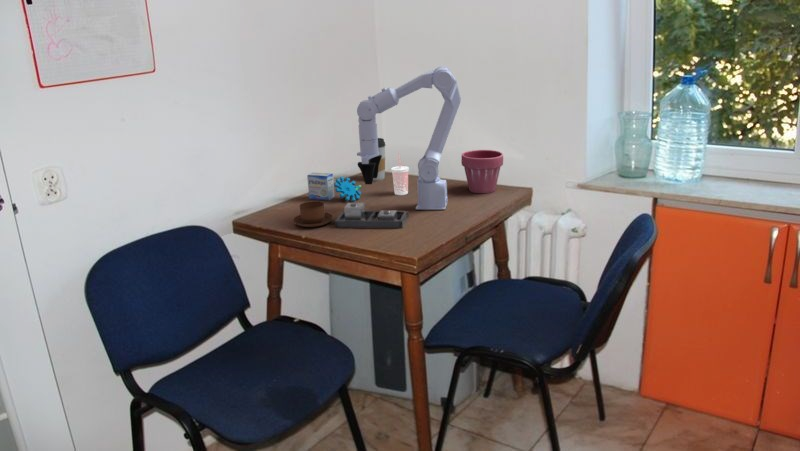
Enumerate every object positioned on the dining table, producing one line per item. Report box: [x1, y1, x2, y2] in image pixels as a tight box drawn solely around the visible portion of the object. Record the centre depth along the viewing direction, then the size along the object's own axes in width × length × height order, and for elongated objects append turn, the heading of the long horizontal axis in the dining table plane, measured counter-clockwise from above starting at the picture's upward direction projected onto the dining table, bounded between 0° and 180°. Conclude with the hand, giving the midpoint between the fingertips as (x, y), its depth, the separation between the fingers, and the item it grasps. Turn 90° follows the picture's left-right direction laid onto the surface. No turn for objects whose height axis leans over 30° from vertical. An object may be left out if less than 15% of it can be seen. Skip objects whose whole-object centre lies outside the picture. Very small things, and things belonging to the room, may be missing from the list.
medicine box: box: [307, 172, 335, 201], centre depth 233 cm, size 8×4×9 cm, turn 68°
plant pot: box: [461, 149, 504, 194], centre depth 232 cm, size 14×14×13 cm
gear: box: [333, 176, 362, 202], centre depth 232 cm, size 11×6×10 cm
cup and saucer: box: [293, 200, 334, 228], centre depth 207 cm, size 12×12×6 cm
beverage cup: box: [390, 153, 410, 196], centre depth 233 cm, size 6×6×14 cm
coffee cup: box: [373, 137, 386, 182], centre depth 254 cm, size 8×8×15 cm
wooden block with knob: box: [377, 209, 398, 221], centre depth 204 cm, size 5×5×4 cm
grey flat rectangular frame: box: [334, 210, 409, 229], centre depth 206 cm, size 20×11×2 cm, turn 80°
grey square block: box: [343, 202, 366, 221], centre depth 206 cm, size 5×5×6 cm
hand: (371, 181), depth 216 cm, fingers open, 7 cm apart
